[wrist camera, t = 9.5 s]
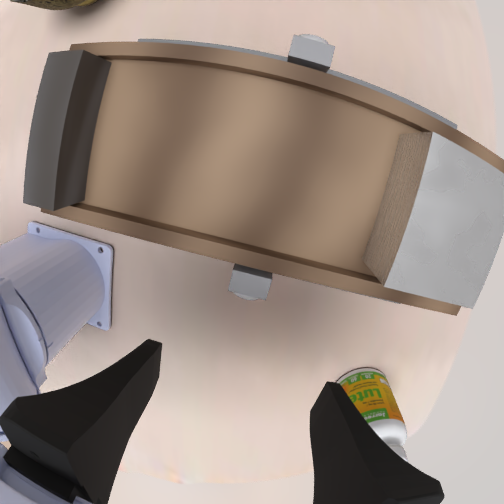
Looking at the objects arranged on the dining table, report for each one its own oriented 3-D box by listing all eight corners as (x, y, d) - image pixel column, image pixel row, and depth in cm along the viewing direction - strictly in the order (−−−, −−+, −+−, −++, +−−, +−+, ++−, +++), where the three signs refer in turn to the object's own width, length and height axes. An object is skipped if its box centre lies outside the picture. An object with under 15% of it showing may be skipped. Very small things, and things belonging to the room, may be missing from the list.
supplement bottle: (373, 356, 23) (407, 442, 14) (393, 388, 24) (423, 466, 15) (320, 385, 25) (333, 475, 15) (345, 414, 26) (361, 494, 17)
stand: (105, 226, 21) (59, 250, 15) (144, 40, 17) (105, 11, 11) (394, 300, 21) (425, 343, 16) (450, 123, 17) (500, 119, 11)
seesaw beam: (61, 204, 16) (19, 219, 13) (90, 52, 13) (51, 36, 9) (441, 300, 17) (471, 332, 13) (488, 160, 14) (530, 167, 10)
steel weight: (361, 259, 15) (383, 286, 12) (399, 134, 13) (432, 131, 10) (443, 282, 16) (472, 308, 12) (479, 174, 13) (517, 182, 10)
